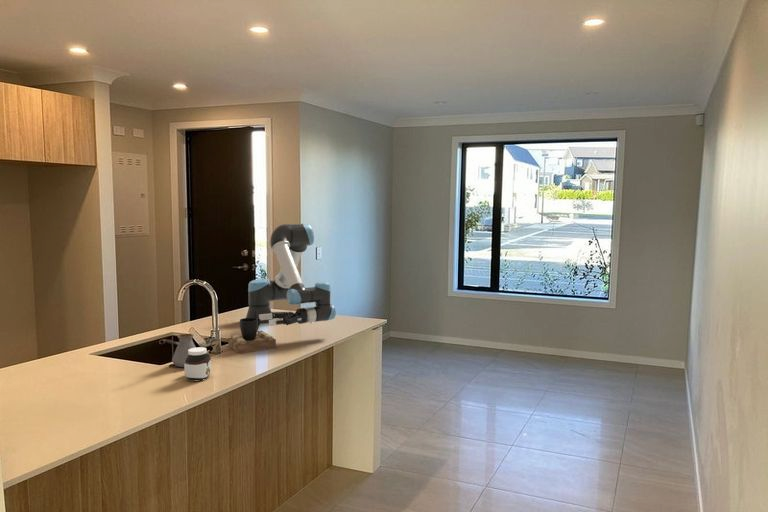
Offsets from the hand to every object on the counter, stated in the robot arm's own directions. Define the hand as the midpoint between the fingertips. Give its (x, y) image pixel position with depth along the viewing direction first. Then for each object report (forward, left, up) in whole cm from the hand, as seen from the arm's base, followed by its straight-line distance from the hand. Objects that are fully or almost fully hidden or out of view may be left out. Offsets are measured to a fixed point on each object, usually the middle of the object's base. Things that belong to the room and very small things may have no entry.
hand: (263, 320), depth 275 cm
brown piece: (0, -6, -12) cm, 14 cm away
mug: (0, -6, -8) cm, 10 cm away
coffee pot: (+17, -43, -12) cm, 48 cm away
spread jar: (+32, -40, -12) cm, 53 cm away
